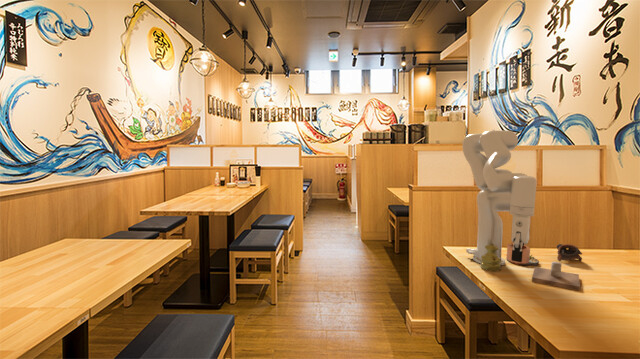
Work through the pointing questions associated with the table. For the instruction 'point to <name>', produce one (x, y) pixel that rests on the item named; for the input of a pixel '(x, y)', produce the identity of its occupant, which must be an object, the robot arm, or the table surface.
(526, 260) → the ring
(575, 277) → the post stand
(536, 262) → the burger
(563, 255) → the pottery mug
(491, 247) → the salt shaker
